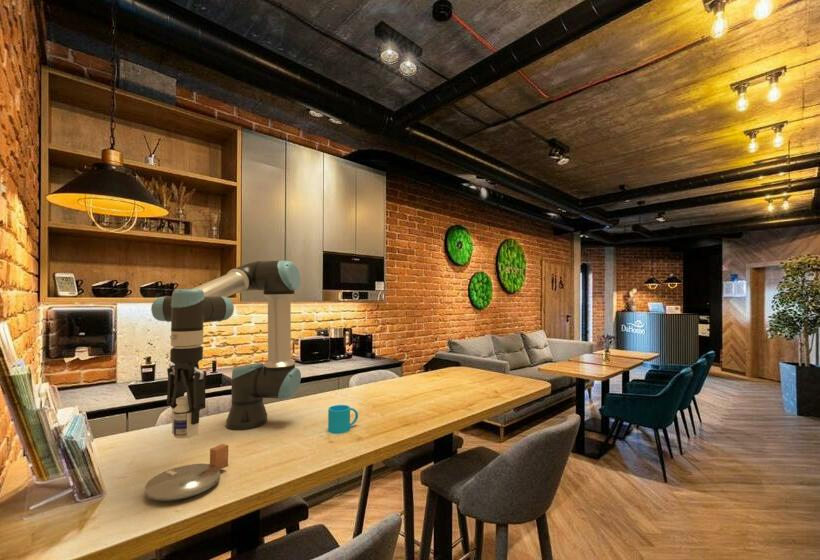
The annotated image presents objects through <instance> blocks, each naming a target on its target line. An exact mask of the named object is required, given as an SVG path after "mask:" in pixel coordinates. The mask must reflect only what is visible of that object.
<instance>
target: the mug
mask: <svg viewBox="0 0 820 560" xmlns="http://www.w3.org/2000/svg"><path fill="white" fill-rule="evenodd" d="M351 411H353V412H354V414H355V417H354V420H352V422H351ZM327 413H328V414H327V416H328V418H327V419H328V420H327V426H328V427H327V429H328V430H327V431H328V433H330V434H345V433H348V432H349V431H350V430H351V427H352V426H353V425H354V424H355V423H356V422H357V420H358V418H359V413H358V411H357V410H356V409H355V408H353V407H351V406H350V405H345V404H337V405H331V406H330V407H328V412H327Z"/></svg>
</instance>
